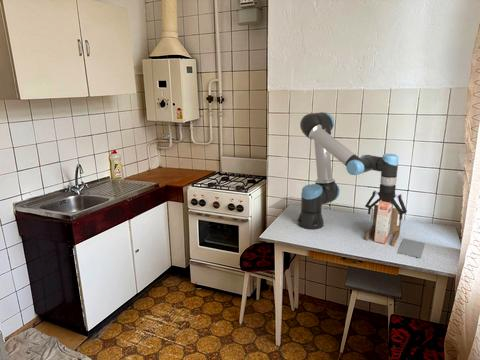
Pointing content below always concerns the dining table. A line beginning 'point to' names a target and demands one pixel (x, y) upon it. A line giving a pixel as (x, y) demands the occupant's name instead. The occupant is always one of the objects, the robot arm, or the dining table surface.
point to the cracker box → (383, 221)
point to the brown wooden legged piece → (393, 229)
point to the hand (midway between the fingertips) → (384, 222)
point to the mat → (411, 248)
